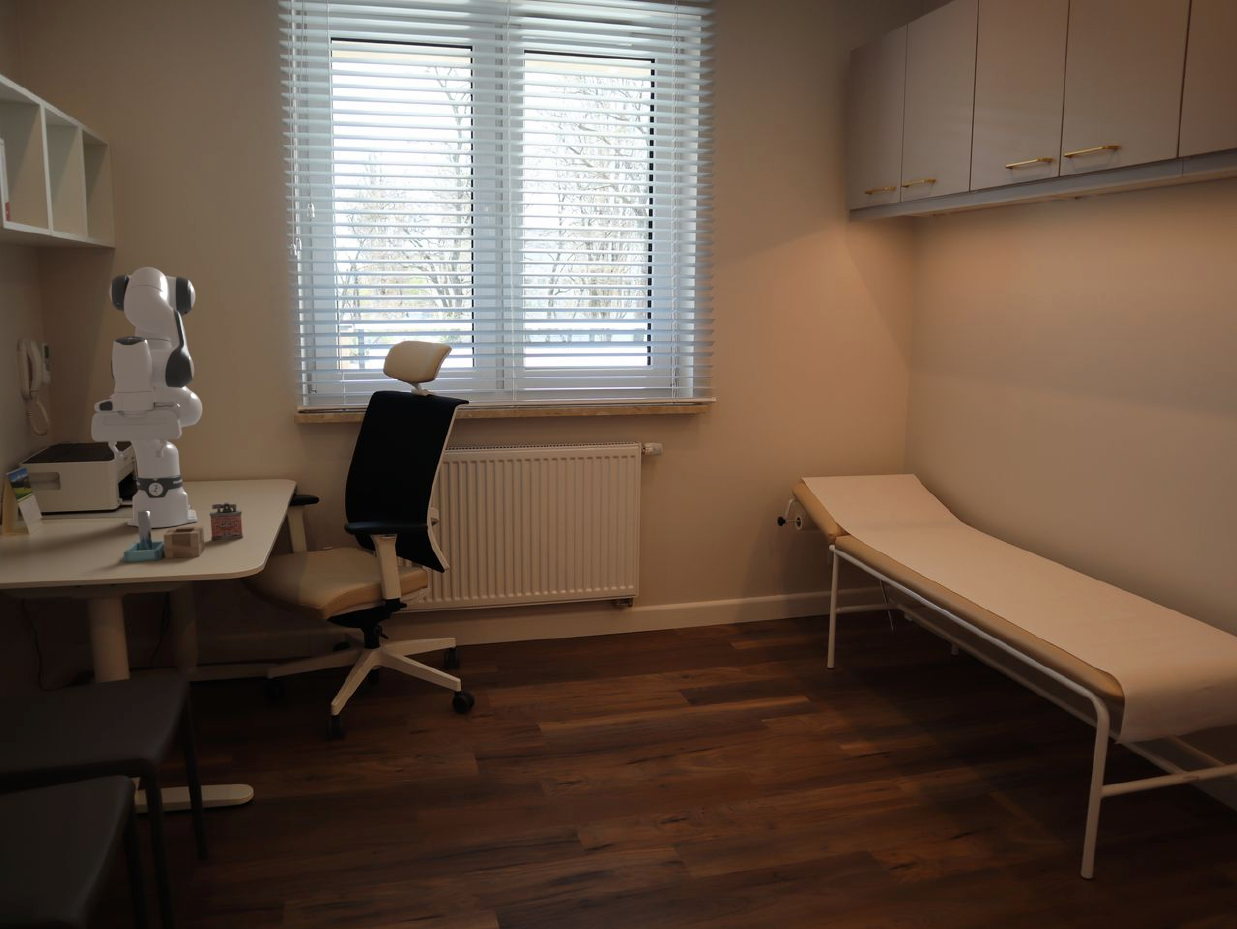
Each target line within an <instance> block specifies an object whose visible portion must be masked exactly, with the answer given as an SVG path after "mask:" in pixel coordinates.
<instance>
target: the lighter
mask: <svg viewBox="0 0 1237 929" xmlns="http://www.w3.org/2000/svg"><path fill="white" fill-rule="evenodd" d="M211 509H212V510H216V511H212V512H211V511H210V512H209V516H210V528H211V531H210V532H211V538H210V540H211V541H212V542H219V541H222V542H223V541H234V540H242V539H243V538H244V534H243V523H242V512H243V511H242V510H239V509H238V510H237V503H235V502H234V503H229V502H224V503H223V504H222V503H213V504H212V505H211ZM221 509H222V510H221Z"/></svg>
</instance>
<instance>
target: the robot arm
mask: <svg viewBox="0 0 1237 929" xmlns="http://www.w3.org/2000/svg"><path fill="white" fill-rule="evenodd" d="M108 294H109V298H110V301H111V303H112V306H113V307H114V308H115V309H116V310H118V311H120V312H124V315H125V318H126V319H127V320H128V321H129V323H130V324H132V325H133V326H134V327H135V331H134V336H133V335H130V336H121V337H118V338H116V339H114V341H113V345H112V353H111V354H112V358H111V360H110V368H111V378H112V379H113V380H114V382H115V385H114V389H113V390H114V392H113V394H111V395H110V396H109V397H108V398H106V399H103V400H101V401H98V402H96V403H95V404H94V405H93V407H94V411H95V412H96V413H94V414H93V416H92V418H91V425H90V427H91V431H90V432H91V434H90V435H91V438H92V440H93V441H95V442H107V443H108V447H109V449H110V450H111V451H112V452H113V454H114V460H122V459H123V456H124V455H123V451H122V450H121V451H120V450H119V449H118V448H117V447H116V445H117V442H125V441H130V443H131V445H132V447H133V450H134V454H135V459H136V466H137V468H136V469H137V477H136V487H137V492H136V493H135V494H134V495H133V496H132V519H129V520H128V521H127V524H126V525H127V526H133V527H134V526H135V527H138V513H137V512H138V511H150V522H151V529H152V528H153V529H154V528H168V527H169V528H170V527H174V526H181V525H185V524H191V523H195V522H196V523H197V522H198V517H197V512H196V510H195V509H192V506H191V505H190V504H189V500H188V494H187V492H186V491H185V490H184V488H183V485H184V484H183V477H182V474H181V471H180V456H179V450H178V448H177V446H176V445H175V444H173V443H172V442H171V441H169V440H178V439H180V437H182V435H183V431H182V430H183V429H182V428H184V427H189V426H193V425H196V424H197V423H198V422H199V421H200V419H201V417H202V415H203V405H202V400H201V399H200V398H199V396H198V395H197V394H196V393H195V392H193V391H192V390H190V389H189V388H188V387H187V385H189V384H190V383H191V382H192V381H193V380H194V375H195V366H194V361H193V359H192V356H191V355H190V352H189V345H188V341H187V335H186V330H185V326H184V322H183V317H184V316H186V315H188V314H189V313H190V312H191V311H192V310H193V307H194V304H195V302H196V290H195V288H194V286H193V282H191V281H190V279H188V278H184V277H182V276H177V277H174V276H169V275H165V274H164V273H163V272H162V271H160V270H159V269H158V268H155V267H151V266H143V267H140V268H138V269H136V270H134V272H133V273H132V274H131V275H129V274H120V275H117V276H116V277H114V278H112V282H111V284H110V286H109V293H108Z"/></svg>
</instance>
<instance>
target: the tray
mask: <svg viewBox="0 0 1237 929" xmlns="http://www.w3.org/2000/svg"><path fill="white" fill-rule="evenodd" d="M163 557H165V546H164V540H157V541H155V540H154V541H153V540H152V550H142V551H140V541H138V542H136V541H135V542H132V544H131V545H129V547H128V548H126V550H125V551H124V552H123V560H124V561H123V562H124V563H134V562H153V561H154V562H155V561H161V560H162V558H163Z"/></svg>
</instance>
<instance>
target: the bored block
mask: <svg viewBox="0 0 1237 929" xmlns="http://www.w3.org/2000/svg"><path fill="white" fill-rule="evenodd" d="M163 541H164V546H165V554H164V557H165V559H168V558H169V559H172V558H189V557H190V558H191V557H200V556H201V555H202V553H204V551H205V550H206V548H205V547H206V546H205V545H206V544H205V532H204V526H203V525H202V526H187V527H169V528H168V530H167V531H165V532H164V534H163Z"/></svg>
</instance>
